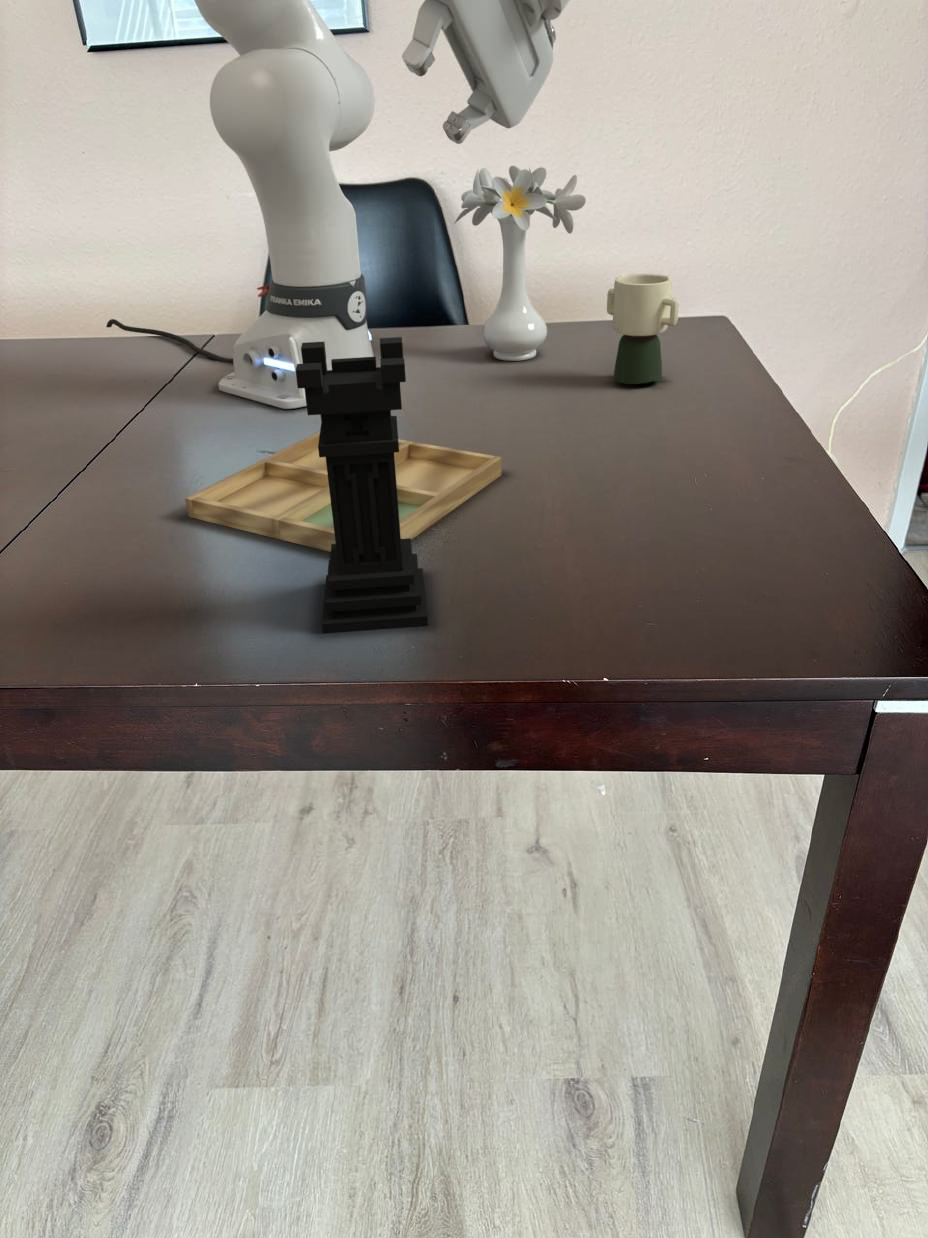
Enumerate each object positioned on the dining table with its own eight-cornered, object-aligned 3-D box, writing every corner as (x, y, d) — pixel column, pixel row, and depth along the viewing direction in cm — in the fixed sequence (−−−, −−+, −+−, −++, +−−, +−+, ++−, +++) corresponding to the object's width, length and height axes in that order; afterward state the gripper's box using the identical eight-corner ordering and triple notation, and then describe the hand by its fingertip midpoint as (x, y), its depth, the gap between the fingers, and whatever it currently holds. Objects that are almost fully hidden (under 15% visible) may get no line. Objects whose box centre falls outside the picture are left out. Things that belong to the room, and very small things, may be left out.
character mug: (688, 383, 123) (697, 279, 116) (654, 396, 119) (661, 288, 112) (621, 368, 130) (626, 269, 123) (587, 380, 126) (590, 277, 119)
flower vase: (593, 349, 139) (599, 160, 126) (498, 376, 129) (495, 173, 116) (531, 334, 148) (531, 156, 135) (439, 358, 138) (429, 168, 125)
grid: (188, 517, 92) (184, 498, 91) (329, 443, 109) (327, 426, 108) (378, 564, 82) (376, 543, 81) (501, 475, 98) (501, 456, 97)
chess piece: (327, 583, 79) (297, 341, 69) (422, 576, 80) (406, 335, 70) (323, 633, 72) (288, 372, 62) (427, 625, 73) (410, 365, 63)
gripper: (532, 31, 90) (446, 156, 91) (463, -158, 70) (354, 4, 72) (584, 59, 88) (495, 186, 89) (528, -129, 68) (415, 38, 70)
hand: (431, 104), depth 80 cm, fingers open, 8 cm apart
